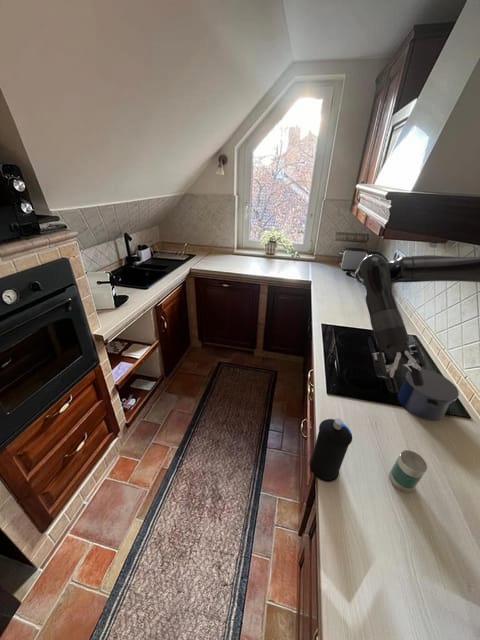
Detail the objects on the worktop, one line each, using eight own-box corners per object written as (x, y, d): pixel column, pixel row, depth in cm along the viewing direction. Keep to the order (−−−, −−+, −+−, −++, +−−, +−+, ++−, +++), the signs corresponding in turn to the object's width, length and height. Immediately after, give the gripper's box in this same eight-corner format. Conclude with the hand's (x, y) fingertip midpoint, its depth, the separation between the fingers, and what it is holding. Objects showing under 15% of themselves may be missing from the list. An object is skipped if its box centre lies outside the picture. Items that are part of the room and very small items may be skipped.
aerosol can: (327, 488, 68) (345, 442, 58) (303, 465, 74) (315, 419, 64) (344, 469, 73) (362, 423, 63) (320, 448, 78) (333, 403, 68)
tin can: (412, 476, 72) (425, 456, 67) (414, 497, 67) (428, 477, 62) (388, 466, 74) (399, 446, 69) (389, 486, 69) (400, 466, 64)
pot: (441, 394, 99) (452, 374, 94) (450, 431, 85) (465, 410, 80) (395, 381, 105) (404, 362, 100) (397, 413, 91) (407, 392, 85)
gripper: (378, 328, 62) (398, 395, 59) (420, 321, 66) (441, 383, 63) (357, 334, 69) (374, 394, 66) (396, 327, 73) (414, 383, 70)
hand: (407, 389), depth 65 cm, fingers open, 8 cm apart
